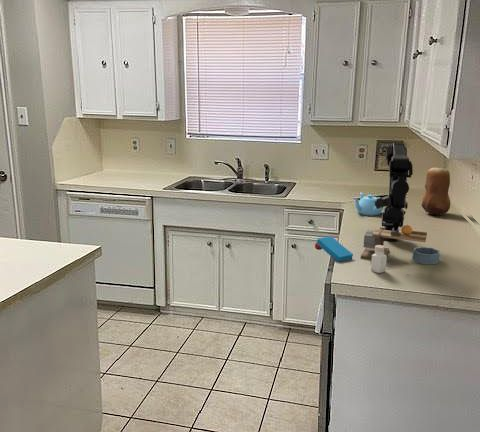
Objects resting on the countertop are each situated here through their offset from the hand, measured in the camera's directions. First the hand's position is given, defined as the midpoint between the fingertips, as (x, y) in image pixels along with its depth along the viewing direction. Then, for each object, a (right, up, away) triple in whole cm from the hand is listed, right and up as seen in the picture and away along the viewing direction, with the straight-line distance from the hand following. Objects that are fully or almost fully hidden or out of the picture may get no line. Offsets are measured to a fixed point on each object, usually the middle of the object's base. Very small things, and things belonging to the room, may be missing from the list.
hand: (395, 230), depth 189 cm
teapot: (+8, +7, +72) cm, 73 cm away
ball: (+4, 0, -2) cm, 4 cm away
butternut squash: (+43, +6, +68) cm, 81 cm away
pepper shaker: (-11, -15, -13) cm, 22 cm away
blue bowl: (+11, -12, -2) cm, 16 cm away
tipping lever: (0, -7, +2) cm, 7 cm away
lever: (-24, -10, +7) cm, 27 cm away
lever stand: (-6, -10, +5) cm, 13 cm away
